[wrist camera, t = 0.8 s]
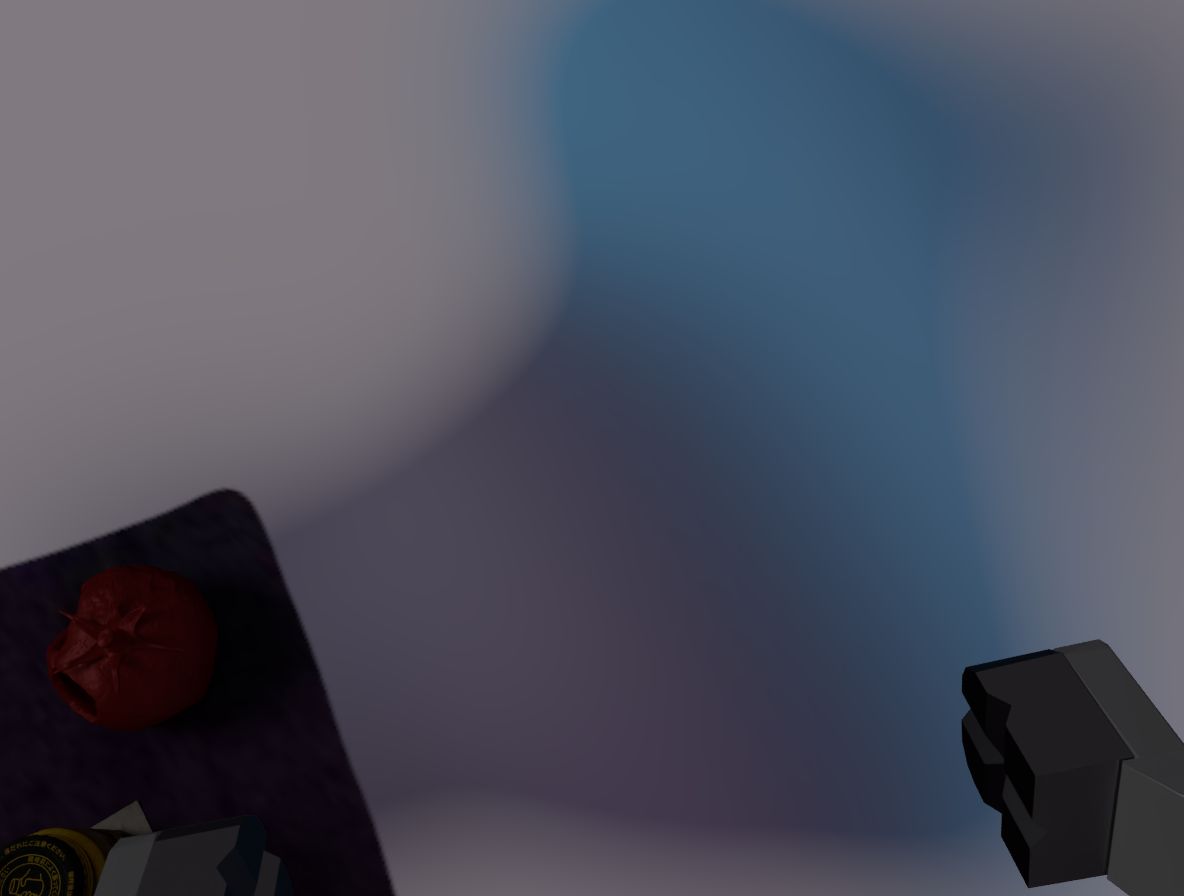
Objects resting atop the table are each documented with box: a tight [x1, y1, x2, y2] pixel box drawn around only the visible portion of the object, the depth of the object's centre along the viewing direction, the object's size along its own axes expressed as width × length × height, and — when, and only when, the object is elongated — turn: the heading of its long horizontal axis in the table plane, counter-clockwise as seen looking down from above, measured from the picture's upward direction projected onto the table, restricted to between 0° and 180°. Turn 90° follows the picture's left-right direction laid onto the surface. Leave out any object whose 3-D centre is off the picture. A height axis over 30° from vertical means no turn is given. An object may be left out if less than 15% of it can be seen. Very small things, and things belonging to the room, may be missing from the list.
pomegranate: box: [47, 564, 218, 731], centre depth 64 cm, size 10×10×9 cm
